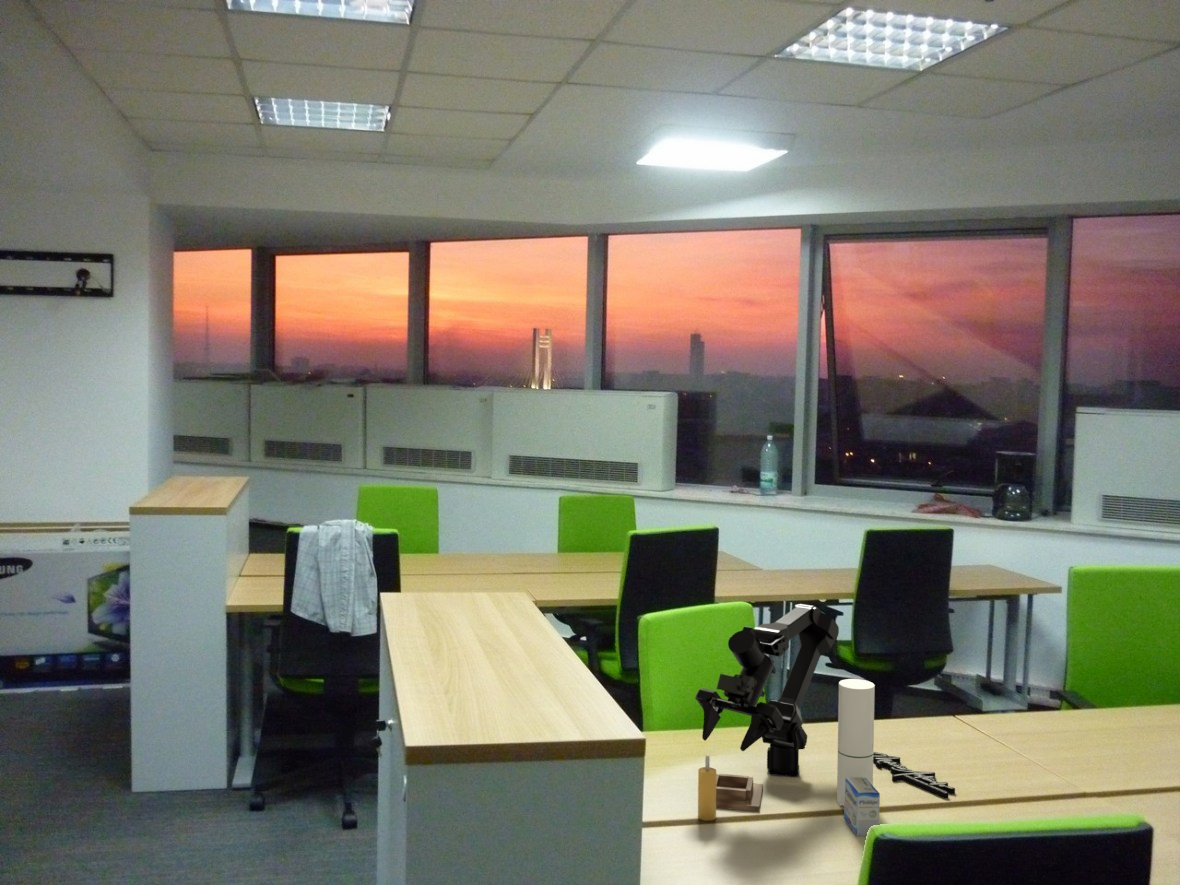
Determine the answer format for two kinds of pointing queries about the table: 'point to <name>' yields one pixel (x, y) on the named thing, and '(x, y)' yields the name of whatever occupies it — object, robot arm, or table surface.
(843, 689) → the cylindrical container
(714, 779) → the yellow cylindrical piece
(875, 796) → the medicine box
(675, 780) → the table surface
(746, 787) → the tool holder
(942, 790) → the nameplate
